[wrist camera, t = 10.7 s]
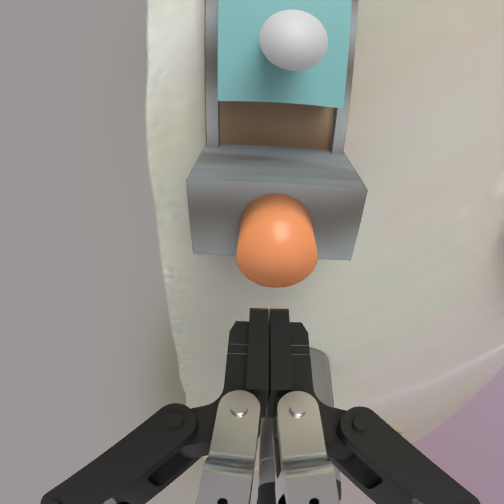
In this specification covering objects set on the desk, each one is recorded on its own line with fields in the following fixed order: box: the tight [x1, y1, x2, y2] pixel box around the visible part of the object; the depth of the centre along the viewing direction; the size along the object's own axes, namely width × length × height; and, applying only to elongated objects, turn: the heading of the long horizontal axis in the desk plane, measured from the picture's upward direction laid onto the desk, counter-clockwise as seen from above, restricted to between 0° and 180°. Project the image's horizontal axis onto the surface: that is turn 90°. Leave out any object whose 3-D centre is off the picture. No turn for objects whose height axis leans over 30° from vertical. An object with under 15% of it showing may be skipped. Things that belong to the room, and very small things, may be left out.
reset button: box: [236, 194, 318, 288], centre depth 17 cm, size 4×4×3 cm
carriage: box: [218, 0, 352, 109], centre depth 13 cm, size 7×7×10 cm
